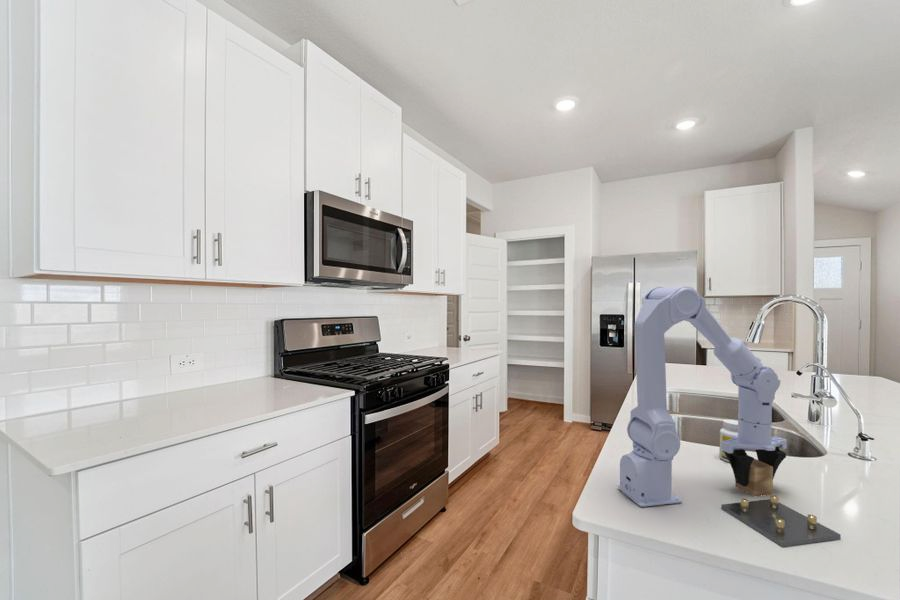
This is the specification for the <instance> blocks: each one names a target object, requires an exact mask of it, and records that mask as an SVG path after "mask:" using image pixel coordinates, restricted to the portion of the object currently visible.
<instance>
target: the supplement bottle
mask: <svg viewBox="0 0 900 600" xmlns="http://www.w3.org/2000/svg"><path fill="white" fill-rule="evenodd" d="M722 426H723V427H722V428H720V430H719V453H718V455H719V458H720V459H721V460H722V461H724V462H725V463H726V462H727V463H729V460H728V458H727V456H726V455H725V453H724V452H723V450H721V441H726V440H729V439H732V438H735V437H737V436H738V420H736V419H723V423H722ZM745 453H747V450H746V451H745Z"/></svg>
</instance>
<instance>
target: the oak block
mask: <svg viewBox="0 0 900 600" xmlns="http://www.w3.org/2000/svg"><path fill="white" fill-rule="evenodd" d="M734 480H735V479H734ZM734 484H735V485H734V486H735V487H736V488H737V487H738V489H739V488H740V490H741V489H742V490H741V491H743V490H744V491H743V492H745V491H746V492H745V493H747V492H748V493H747V494H749V495H750V494H751V495H750V496H752V495H753V496H752V497H754V496H757V497H763V495H766V496H771V495H770V494H773V493H774V492H773V490H774V488H773V487H774V485H773V484H774V478H773V466H770V465H768V464H766V463H763V462H761V461H759V460H758V458H754V460H753V461H752V463H751V466H750V470H749V478H748V484H747V486H742V485H740V484H738V483H737V482H736V480H735V483H734ZM761 495H762V496H761Z"/></svg>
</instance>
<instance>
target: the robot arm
mask: <svg viewBox="0 0 900 600" xmlns="http://www.w3.org/2000/svg"><path fill="white" fill-rule="evenodd" d="M706 304H707V303H706V299H705V298H704V297H702V296H701V295H700V293H699V292H698V291H697V290H696V289H695V288H693V287H692V286H687V285H682V286H676V287H675V286H673V287H672V286H671V287H670V286H668V287H667V286H666V287H663V286H656V287H653V288H652V289H650V290H649V291H648V292H646V294H644V295H643V296H642V297H641V307H640V310H639V311H638V314H637V316H636V319H635V322H634V341H635V342H634V343H635V345H634V346H635V349H634V350H635V369H636V370H635V371H636V372H635V374H636V392H637V393H636V395H637V397H636V399H637V406H636V407H633V408H632V409H631V410H630V419H629V421H628V423H627V427H626V432H627V436H628V438H629V440H631V441H632V451H631V452H629V453H626V454H623V455H622V456H621V458H620V460H619V485H617V489H618V490H620V491H621V492H622V493H623V494H624V495H625V496H626V497H628V498H629V499H631V501H633V502H634V503H635V504H637V506H639V507H641V508H643V507H644V508H645V507H651V506H652V507H653V506H662V505H671V504H680V503H682V502H683V501H682V499H681V498H680V497H679V496H677V495H676V494H674V493H673V492H672V485H673V484H672V482H673V481H672V479H673V476H672V470H673V469H672V467H673V462H672V460H674V457H675V456H676V455H677V454H678V453H679V450H680V448H681V439H680V437H679V434H678V433H677V430H676V429H677V428H676V422H675V421H674V418H673V417H672V415H671V413H670V412H669V410H668V404H667V403H668V401H667V400H668V399H667V373H666V348H665V333H666V332H668V330H670V329H671V328H672V327H673V326H675V325H676V324H678V323H681V322H683V321H685V322H689V323H690V324H691V325H692V326H693V327H694V328H695V329H696V330H697V331H698V332H699V333H700V334H701V335H702V336H703V337H704V338H705V339H706V340H707V341H708V342H709V343H711V344H712V345H713V347H714V349H713V354H714V356H715V357H716V358H717V360H719V361H720V363H721V364H722V365H723V366H724V367H725V368H726V369H727V371H729V373H730V379H731V382H732V384H735V385H736V386H737V387H738V388H737V389H738V395H737V398H738V399H737V400H738V401H737V402H738V407H737V408H738V409H737V421H738V436H737V437H735V438H732V439H729V440H726V441H721V450H723V452H724V453H725V455H726V456H727V458H728V460H729V462H730V463H729V462H728V463H729V464H730V466H731V469H732V472H733V475H734V480H736V482H737V483H738V484H740V485H742V486H747V484H748V478H749V470H750V466H751V463H752V461H753V460H754V459H755V457H753V456H750V455H748V453H747V451H755V453H756V454H755V455H756V457H757V458H756V459H757V460H759V461H761V462H763V463H766V464H768V465H770V466H773V479H775V475H776V472H777V470H778V468H779V466H780V465H781V463H782V462H783V461H784V459H786V458H787V453H786V452H785V451H783V450H785V449H788V447H787V446H788V441H787V438H783V437H780V436H772V423H773V421H772V420H773V417H772V415H773V414H772V412H773V411H772V410H773V403H774V400H775V396H776V392H777V391H778V390H779V388H780V385H781V380H780V379H779V377H778V374H777V373H776V372H775V370H774V369H772V368H771V367H769V366H766V365H763V363H762V360H761V358H759V357H757V356H756V355H755V354H754V353H753V352H752V351H751V349H749V347H747V346H748V342H746V341H745V340H743V339H740V338H738V337H730V335H729V334H728V332H727V331H726V330H725V329H724V327H723V326H722V325H721V324H720V322H718V320H717V319H716V317H715V316H714V315H713V314H712V312H711V311H710V310H709V309H708V306H707V305H706ZM781 449H782V450H781ZM745 451H746V453H745Z"/></svg>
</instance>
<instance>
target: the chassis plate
mask: <svg viewBox="0 0 900 600" xmlns="http://www.w3.org/2000/svg"><path fill="white" fill-rule="evenodd" d="M720 507H721V508H720V509H721V510H723V511H724V512H726V513H728V514H729V515H731V516H732V517H734V518H735V519H737V520H739V521H740V522H741V523H743V524H745V525H747V527H749V528H752V529H753V530H755V531H756V532H758V533H759V534H761V535H762V536H764V537H766V538H767V539H769V540H770V541H772V542H774V543H775V544H777V545H778V546H779V547H782V548H787V547H793V546H801V545H807V544H814V543H816V544H817V543H822V542H824V543H825V542H829V541H831V542H832V541H836V540H841V539H842V538H841V534H840V533H838V532H836V531H835V530H833V529H832V528H831V529H830V528H829V527H827V526H825V525H823V524H822V523H820V522H817V521H818V520H817V519H818V518H817V516H816V515H814V514H807V516H806V515H804V514H802V513H800V512H798V511H797V510H795V509H793V508H791V507H789V506H787V505H785V504H784V503H781V502H780V501H779V497H778V496H777V495H770V498H769V499H759V500H751V501H750V500H748V499H747V498H740V502H733V503H732V502H731V503H724V504H721V505H720Z"/></svg>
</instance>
